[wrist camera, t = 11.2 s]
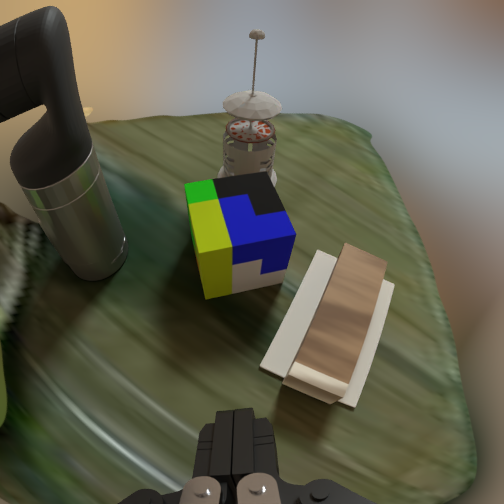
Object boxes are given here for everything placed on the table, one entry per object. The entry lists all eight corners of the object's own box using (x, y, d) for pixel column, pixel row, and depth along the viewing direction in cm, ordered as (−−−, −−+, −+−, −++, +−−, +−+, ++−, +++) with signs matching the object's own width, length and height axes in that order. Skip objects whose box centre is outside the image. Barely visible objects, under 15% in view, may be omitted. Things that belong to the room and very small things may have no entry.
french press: (212, 194, 49) (209, 37, 28) (223, 150, 55) (225, 17, 35) (276, 200, 49) (300, 44, 28) (277, 155, 55) (295, 22, 35)
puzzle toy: (282, 282, 41) (296, 234, 32) (205, 299, 39) (198, 253, 30) (260, 223, 46) (266, 171, 38) (191, 236, 44) (184, 184, 36)
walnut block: (343, 397, 28) (387, 261, 37) (288, 374, 29) (345, 242, 39) (330, 404, 31) (374, 280, 41) (281, 383, 33) (335, 262, 42)
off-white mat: (354, 407, 32) (355, 407, 31) (259, 366, 34) (259, 365, 34) (393, 285, 41) (394, 284, 41) (316, 251, 44) (317, 249, 43)
